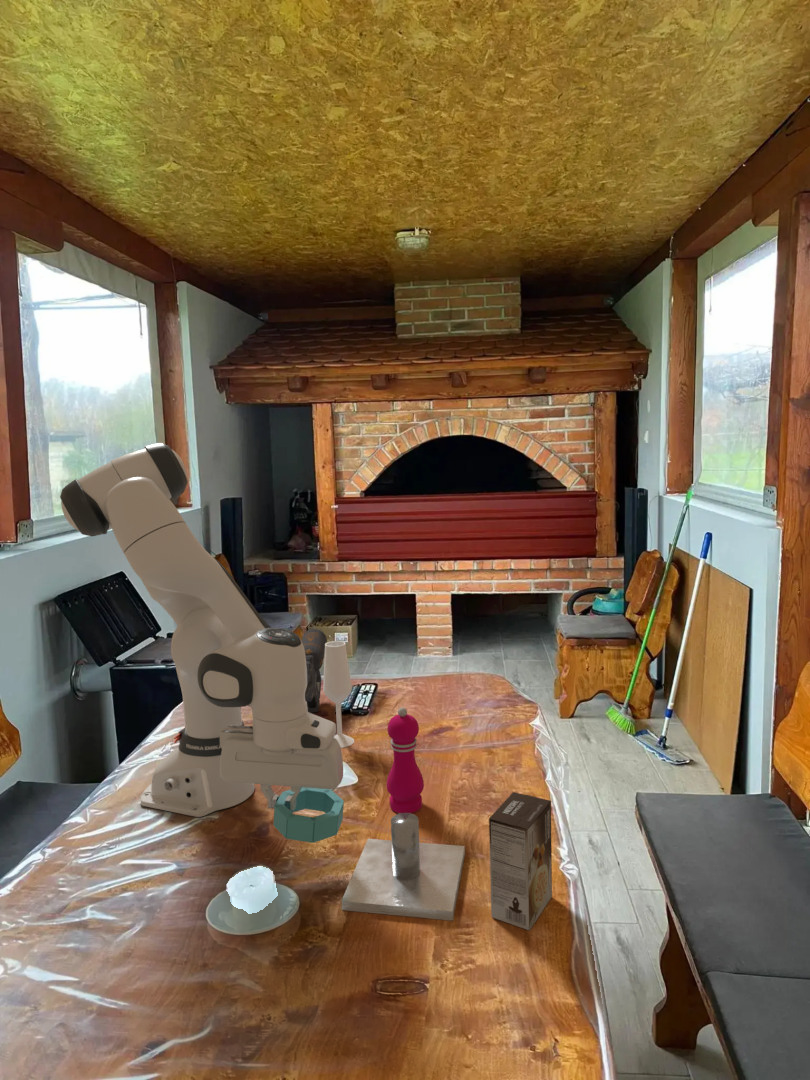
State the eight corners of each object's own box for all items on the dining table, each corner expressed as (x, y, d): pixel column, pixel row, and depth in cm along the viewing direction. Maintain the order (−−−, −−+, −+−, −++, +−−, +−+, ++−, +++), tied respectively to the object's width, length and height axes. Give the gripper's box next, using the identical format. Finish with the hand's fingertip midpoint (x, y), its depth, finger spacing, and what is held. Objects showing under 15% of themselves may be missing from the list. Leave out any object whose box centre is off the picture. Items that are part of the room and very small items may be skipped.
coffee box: (514, 884, 113) (513, 789, 111) (553, 896, 109) (552, 799, 107) (489, 918, 105) (487, 817, 103) (530, 932, 102) (529, 828, 99)
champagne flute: (359, 742, 167) (355, 644, 164) (334, 750, 164) (329, 649, 160) (345, 733, 173) (340, 638, 169) (320, 740, 169) (315, 643, 166)
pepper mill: (420, 817, 134) (417, 715, 131) (383, 814, 135) (379, 714, 132) (427, 797, 141) (424, 701, 138) (391, 795, 142) (388, 699, 139)
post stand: (341, 910, 108) (338, 846, 107) (368, 846, 125) (365, 790, 123) (452, 920, 105) (450, 855, 103) (464, 854, 121) (463, 796, 120)
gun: (330, 695, 199) (327, 625, 196) (317, 737, 171) (312, 657, 168) (306, 695, 199) (302, 626, 196) (289, 738, 171) (284, 658, 168)
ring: (267, 835, 113) (268, 815, 112) (286, 801, 123) (287, 782, 122) (332, 846, 111) (333, 825, 111) (346, 810, 122) (347, 791, 121)
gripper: (211, 732, 113) (214, 812, 116) (336, 740, 111) (337, 822, 113) (226, 716, 120) (229, 793, 122) (345, 724, 117) (345, 802, 119)
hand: (282, 807), depth 117 cm, fingers closed on ring
